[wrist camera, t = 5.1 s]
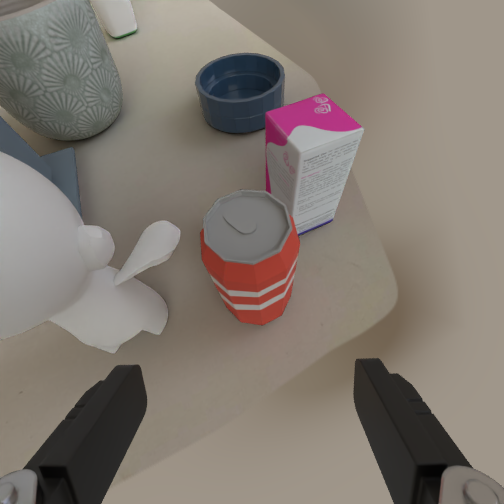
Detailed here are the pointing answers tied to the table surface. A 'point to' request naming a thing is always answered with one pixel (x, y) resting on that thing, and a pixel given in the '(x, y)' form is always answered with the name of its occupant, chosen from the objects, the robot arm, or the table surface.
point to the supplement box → (310, 158)
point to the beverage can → (251, 253)
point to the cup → (116, 16)
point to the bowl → (240, 91)
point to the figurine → (72, 266)
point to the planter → (57, 68)
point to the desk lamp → (44, 163)
